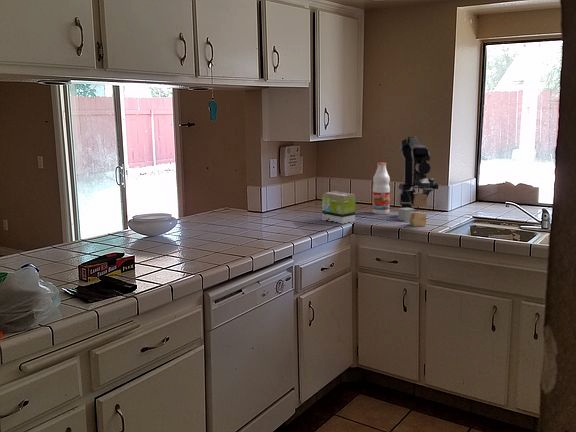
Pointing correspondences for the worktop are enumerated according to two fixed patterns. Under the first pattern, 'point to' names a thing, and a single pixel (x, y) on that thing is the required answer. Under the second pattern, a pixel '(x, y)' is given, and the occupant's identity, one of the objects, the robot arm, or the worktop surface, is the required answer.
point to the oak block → (418, 218)
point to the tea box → (338, 207)
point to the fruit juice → (381, 190)
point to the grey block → (404, 213)
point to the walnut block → (419, 200)
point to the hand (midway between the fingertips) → (418, 203)
